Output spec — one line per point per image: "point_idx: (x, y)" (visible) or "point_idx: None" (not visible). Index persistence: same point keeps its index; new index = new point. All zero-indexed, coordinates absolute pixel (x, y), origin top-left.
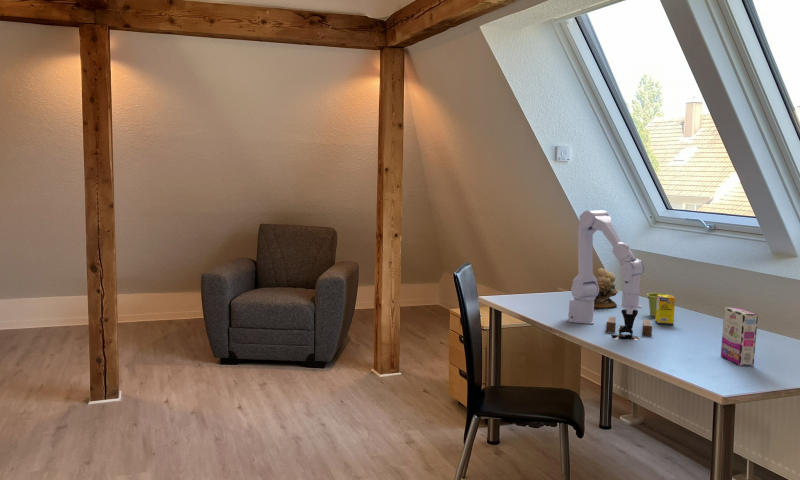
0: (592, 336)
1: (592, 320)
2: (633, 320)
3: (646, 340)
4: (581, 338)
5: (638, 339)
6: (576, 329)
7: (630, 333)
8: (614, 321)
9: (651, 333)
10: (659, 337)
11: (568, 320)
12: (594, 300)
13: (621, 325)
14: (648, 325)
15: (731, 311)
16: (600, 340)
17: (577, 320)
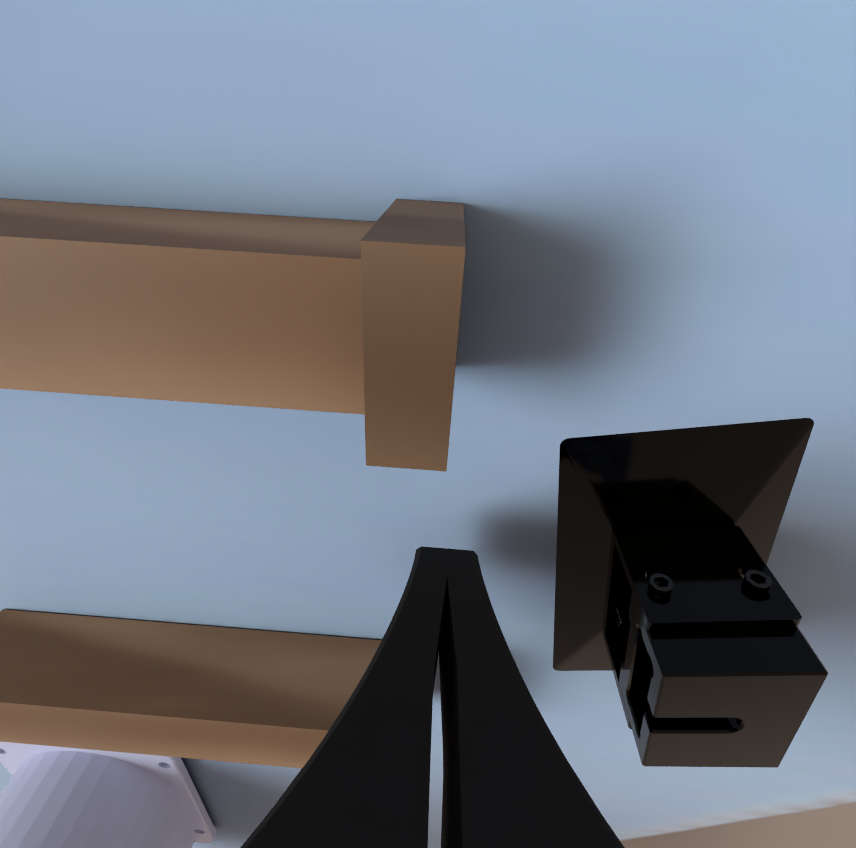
0: (655, 769)
1: (98, 765)
2: (543, 727)
3: (841, 327)
4: (739, 815)
5: (784, 443)
6: (430, 814)
7: (648, 565)
8: (202, 722)
9: (461, 215)
10: (543, 8)
11: (200, 841)
12: None
13: (653, 759)
14: (394, 343)
15: None
16: (815, 742)
17: (179, 821)
